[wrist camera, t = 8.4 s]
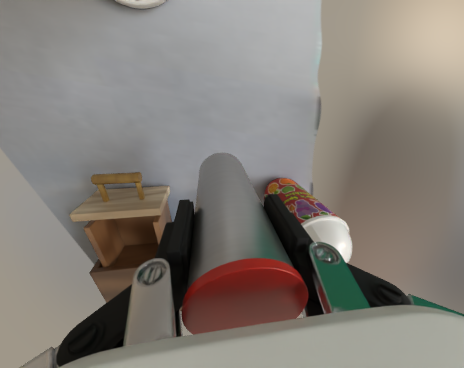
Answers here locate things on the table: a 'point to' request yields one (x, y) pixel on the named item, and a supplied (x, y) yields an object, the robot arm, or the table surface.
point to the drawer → (124, 219)
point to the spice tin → (236, 256)
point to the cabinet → (113, 279)
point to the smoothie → (313, 215)
